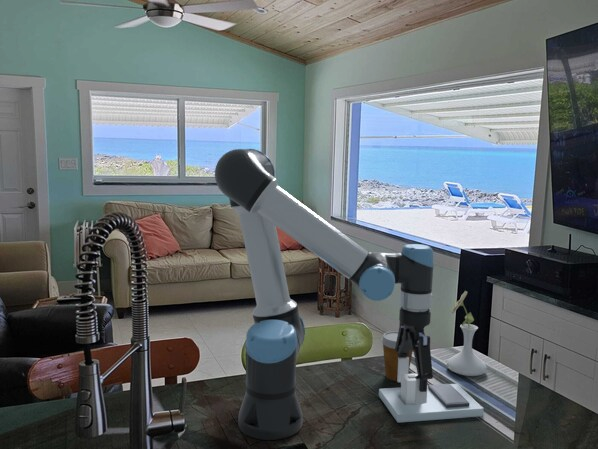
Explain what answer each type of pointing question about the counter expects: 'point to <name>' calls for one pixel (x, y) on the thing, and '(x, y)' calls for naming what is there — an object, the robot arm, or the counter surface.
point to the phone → (448, 395)
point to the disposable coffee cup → (391, 355)
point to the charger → (408, 388)
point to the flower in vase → (466, 349)
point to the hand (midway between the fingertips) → (411, 391)
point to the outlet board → (427, 406)
